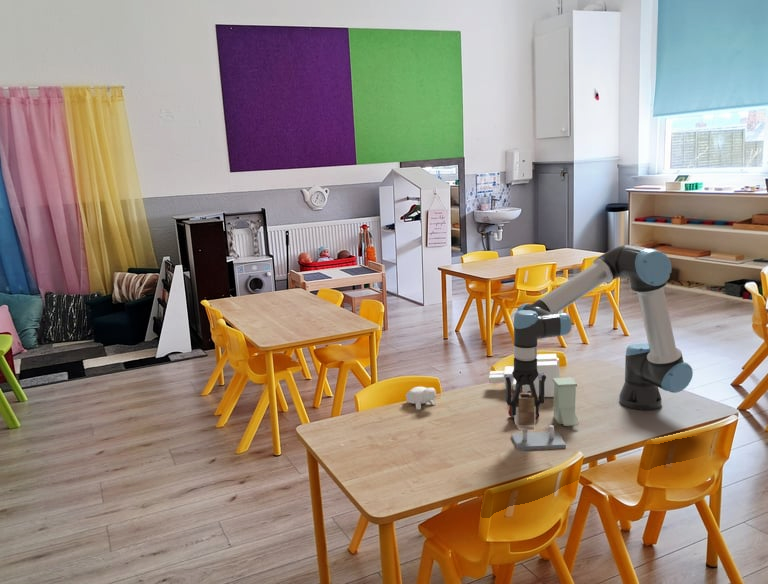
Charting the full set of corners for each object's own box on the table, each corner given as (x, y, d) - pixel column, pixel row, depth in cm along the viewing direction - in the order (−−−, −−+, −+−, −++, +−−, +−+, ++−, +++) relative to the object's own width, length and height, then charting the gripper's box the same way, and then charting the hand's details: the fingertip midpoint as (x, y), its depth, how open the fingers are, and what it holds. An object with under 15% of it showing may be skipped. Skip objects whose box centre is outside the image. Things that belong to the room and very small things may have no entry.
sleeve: (530, 423, 221) (530, 392, 219) (534, 429, 216) (534, 398, 214) (515, 423, 221) (515, 393, 218) (519, 429, 216) (519, 399, 214)
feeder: (570, 415, 240) (571, 377, 237) (580, 429, 229) (581, 389, 225) (552, 416, 240) (552, 378, 237) (561, 430, 228) (562, 390, 225)
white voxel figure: (493, 383, 281) (560, 381, 274) (489, 405, 258) (561, 403, 251) (490, 350, 278) (557, 347, 271) (485, 370, 255) (559, 367, 248)
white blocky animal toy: (406, 411, 258) (427, 409, 246) (401, 390, 259) (422, 387, 246) (423, 406, 263) (445, 403, 250) (418, 385, 264) (439, 381, 251)
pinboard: (557, 434, 225) (557, 419, 224) (565, 447, 215) (566, 432, 214) (511, 437, 225) (511, 422, 223) (518, 450, 215) (518, 434, 214)
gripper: (549, 352, 217) (548, 417, 222) (495, 355, 217) (495, 419, 222) (555, 359, 210) (554, 426, 215) (500, 362, 209) (500, 429, 214)
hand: (524, 423), depth 218 cm, fingers closed on sleeve, 5 cm apart
